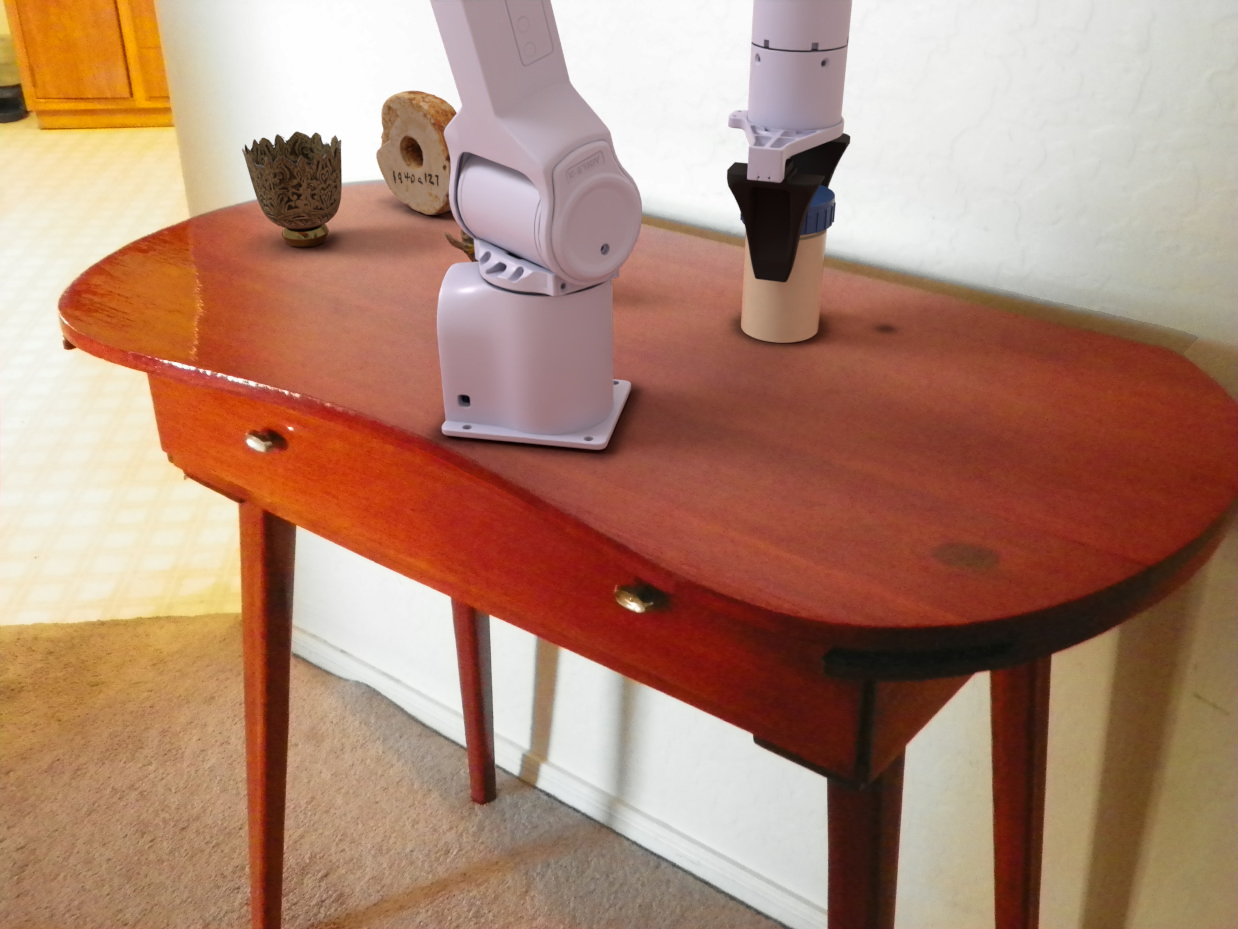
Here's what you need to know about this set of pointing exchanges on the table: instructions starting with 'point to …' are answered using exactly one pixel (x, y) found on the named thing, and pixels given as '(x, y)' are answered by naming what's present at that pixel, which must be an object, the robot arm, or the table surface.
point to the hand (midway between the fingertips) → (783, 260)
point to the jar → (785, 296)
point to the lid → (818, 212)
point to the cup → (297, 184)
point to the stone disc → (416, 150)
